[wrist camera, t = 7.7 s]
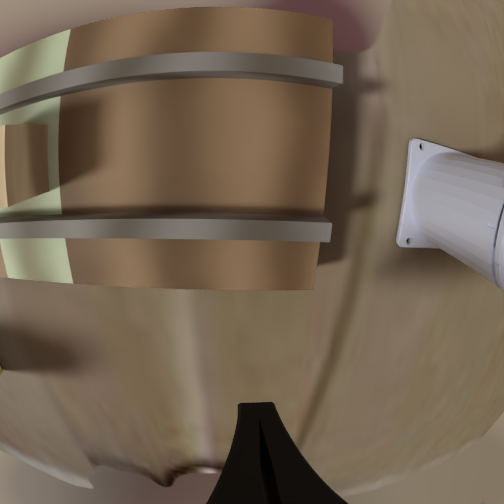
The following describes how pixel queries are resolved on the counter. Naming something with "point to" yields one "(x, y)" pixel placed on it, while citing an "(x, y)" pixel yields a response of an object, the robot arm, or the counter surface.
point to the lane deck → (175, 150)
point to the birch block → (23, 162)
